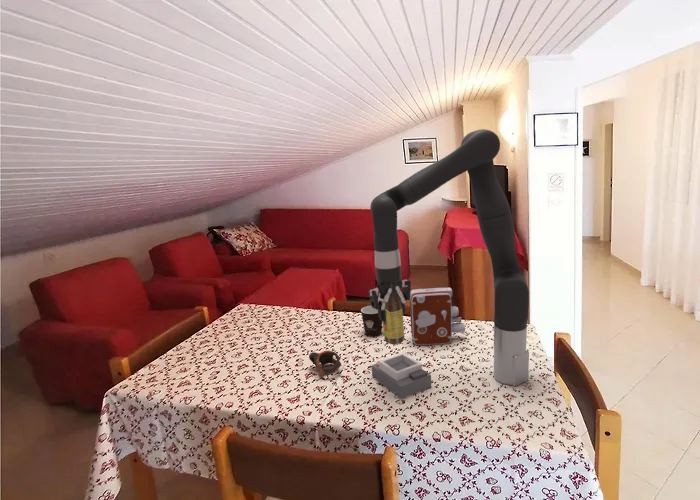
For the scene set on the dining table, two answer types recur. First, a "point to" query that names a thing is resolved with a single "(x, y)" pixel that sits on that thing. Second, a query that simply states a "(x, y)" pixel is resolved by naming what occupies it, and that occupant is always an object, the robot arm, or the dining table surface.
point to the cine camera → (433, 316)
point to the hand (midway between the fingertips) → (392, 317)
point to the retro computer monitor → (401, 375)
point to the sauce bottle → (393, 317)
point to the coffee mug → (371, 322)
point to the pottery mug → (325, 362)
